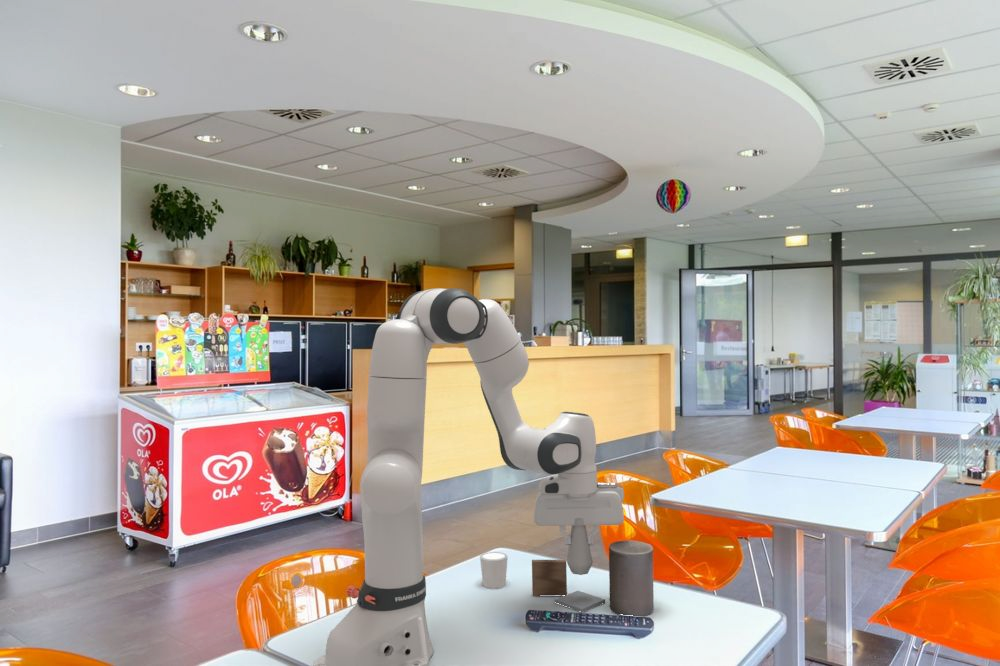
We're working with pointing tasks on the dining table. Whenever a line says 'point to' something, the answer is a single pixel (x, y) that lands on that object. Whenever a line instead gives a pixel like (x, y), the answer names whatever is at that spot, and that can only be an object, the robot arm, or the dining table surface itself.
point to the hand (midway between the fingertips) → (579, 544)
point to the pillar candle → (631, 578)
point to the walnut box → (549, 577)
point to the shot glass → (494, 569)
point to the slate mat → (580, 601)
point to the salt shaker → (579, 549)
